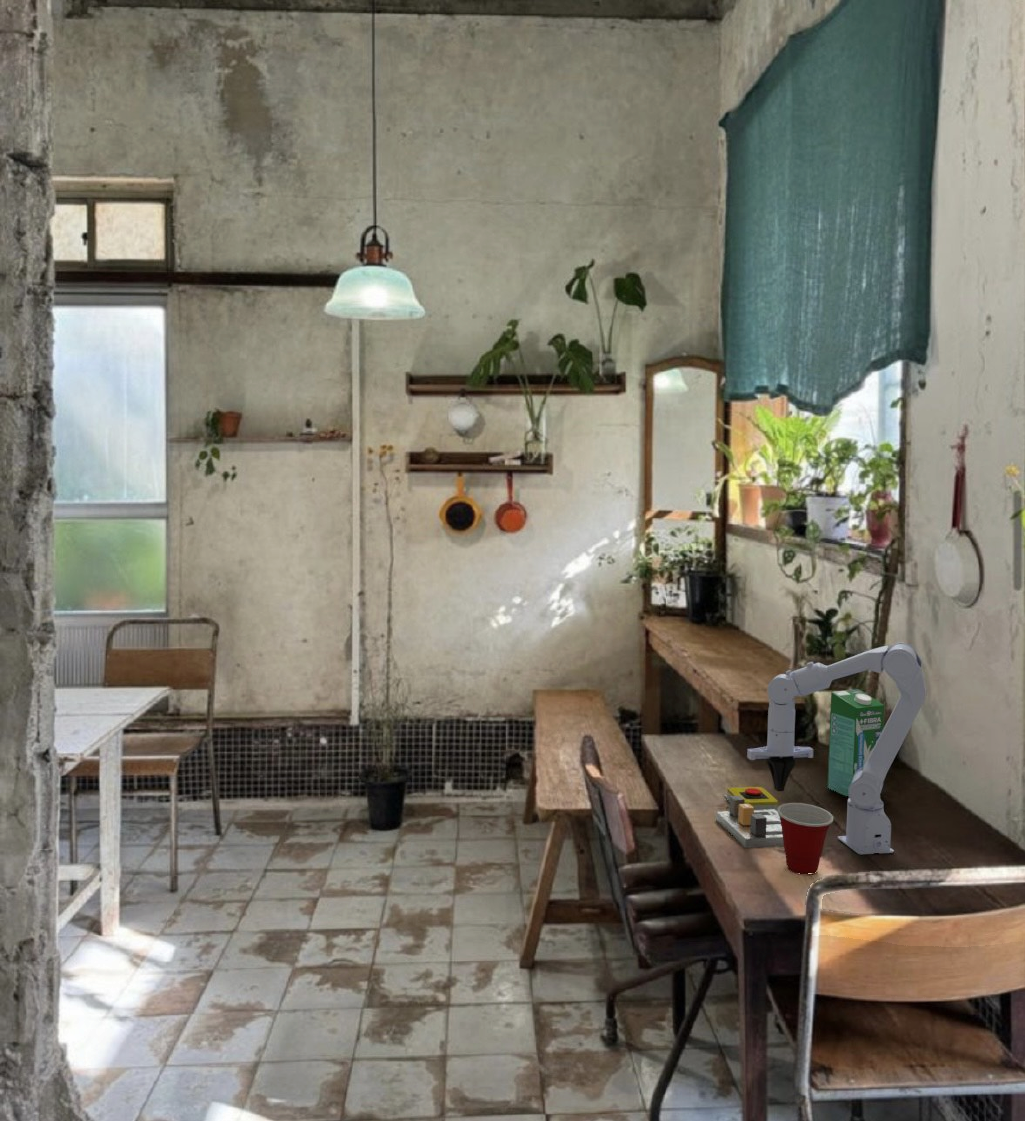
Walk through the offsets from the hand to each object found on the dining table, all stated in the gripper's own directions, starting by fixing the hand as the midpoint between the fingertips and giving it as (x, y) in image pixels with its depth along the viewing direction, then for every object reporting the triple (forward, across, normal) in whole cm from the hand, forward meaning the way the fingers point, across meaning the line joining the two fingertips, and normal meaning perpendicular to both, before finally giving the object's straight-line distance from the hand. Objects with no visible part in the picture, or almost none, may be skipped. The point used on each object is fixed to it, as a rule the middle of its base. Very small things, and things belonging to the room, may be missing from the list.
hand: (779, 789), depth 216 cm
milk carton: (+10, -31, -24) cm, 40 cm away
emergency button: (+10, -1, -18) cm, 20 cm away
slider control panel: (+9, +4, 0) cm, 10 cm away
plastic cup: (+10, +4, +21) cm, 23 cm away
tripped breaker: (+7, +8, 0) cm, 10 cm away
